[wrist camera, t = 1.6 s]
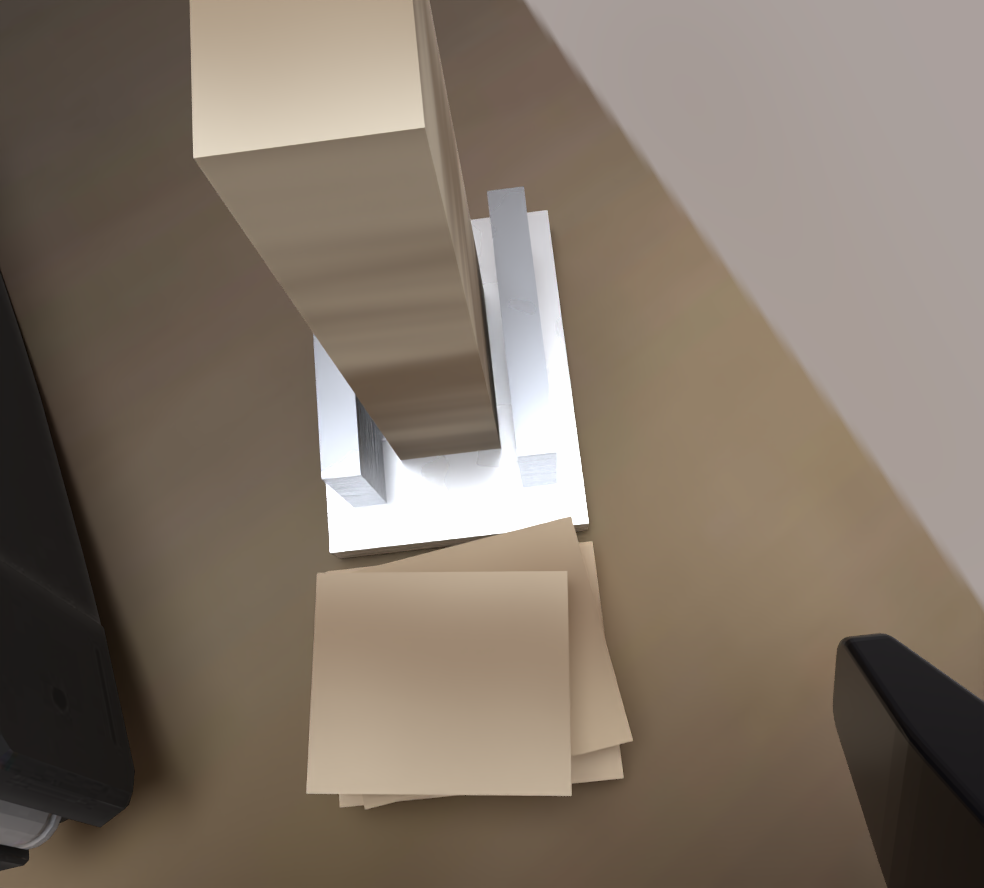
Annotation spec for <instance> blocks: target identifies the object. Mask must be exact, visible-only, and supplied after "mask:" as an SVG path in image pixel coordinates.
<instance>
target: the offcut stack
mask: <svg viewBox="0 0 984 888" xmlns="http://www.w3.org/2000/svg"><path fill="white" fill-rule="evenodd" d="M630 741H633V739H632V735H631V731H630V728H629V724H628V720H627V717H626V713H625V710H624V706H623V702H622V699H621V695H620V691H619V688H618V684H617V680H616V677H615V673H614V670H613V666H612V662H611V659H610V655H609V651H608V648H607V644H606V640H605V632H604V625H603V617H602V610H601V602H600V595H599V587H598V580H597V572H596V565H595V557H594V550H593V542H592V541H590V542H581V543H579V542H578V539H577V535H576V531H575V528H574V524H573V520H572V517H571V516H568V517H564V518H560V519H556V520H553V521H549V522H545V523H541V524H537V525H533V526H529V527H525V528H522V529H518V530H514V531H510V532H506V533H502V534H498V535H494V536H491V537H487V538H483V539H479V540H475V541H471V542H467V543H463V544H459V545H456V546H452V547H448V548H444V549H440V550H436V551H432V552H428V553H425V554H421V555H417V556H413V557H409V558H405V559H401V560H397V561H394V562H390V563H386V564H382V565H378V566H370V567H361V568H353V569H344V570H335V571H326V573H317V585H316V606H315V626H314V647H313V667H312V688H311V708H310V729H309V749H308V770H307V790H306V794H339V802H340V807H349V806H359V805H364V807H365V810H366V809H369V808H373V807H377V806H381V805H385V804H389V803H393V802H398V801H408V800H417V799H427V798H437V797H446V796H456V795H524V796H572V791H571V784H572V783H582V782H591V781H601V780H611V779H621V778H624V776H623V768H622V761H621V753H620V746H619V744H623V743H627V742H630Z"/></svg>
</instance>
